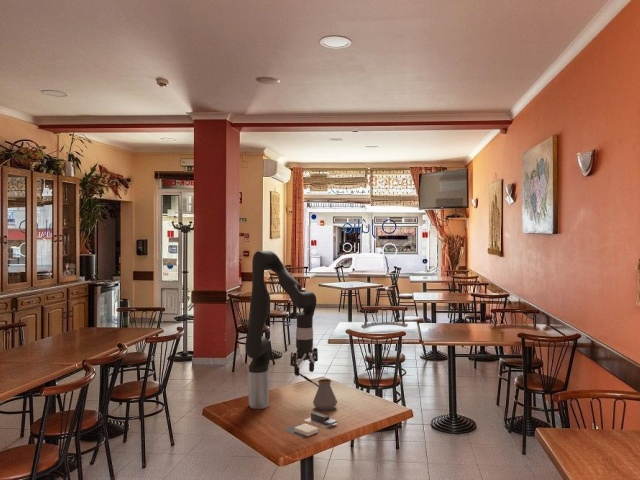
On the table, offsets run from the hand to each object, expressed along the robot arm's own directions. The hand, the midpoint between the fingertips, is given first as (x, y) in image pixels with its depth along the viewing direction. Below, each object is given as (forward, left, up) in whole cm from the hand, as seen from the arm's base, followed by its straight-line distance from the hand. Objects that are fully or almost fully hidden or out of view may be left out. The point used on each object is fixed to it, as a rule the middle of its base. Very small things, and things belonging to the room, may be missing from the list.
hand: (304, 373), depth 229 cm
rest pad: (+7, +2, -21) cm, 22 cm away
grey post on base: (+8, +2, -20) cm, 22 cm away
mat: (+8, -10, -21) cm, 24 cm away
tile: (+7, -10, -19) cm, 23 cm away
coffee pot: (-10, +16, -21) cm, 28 cm away
